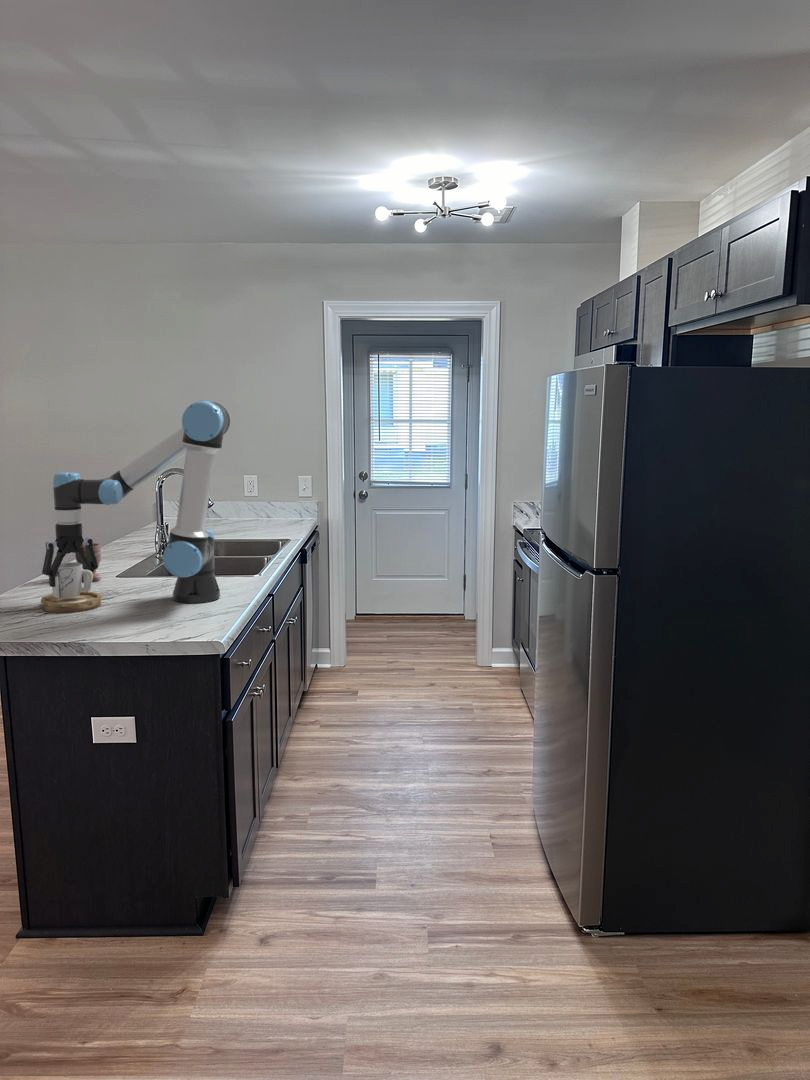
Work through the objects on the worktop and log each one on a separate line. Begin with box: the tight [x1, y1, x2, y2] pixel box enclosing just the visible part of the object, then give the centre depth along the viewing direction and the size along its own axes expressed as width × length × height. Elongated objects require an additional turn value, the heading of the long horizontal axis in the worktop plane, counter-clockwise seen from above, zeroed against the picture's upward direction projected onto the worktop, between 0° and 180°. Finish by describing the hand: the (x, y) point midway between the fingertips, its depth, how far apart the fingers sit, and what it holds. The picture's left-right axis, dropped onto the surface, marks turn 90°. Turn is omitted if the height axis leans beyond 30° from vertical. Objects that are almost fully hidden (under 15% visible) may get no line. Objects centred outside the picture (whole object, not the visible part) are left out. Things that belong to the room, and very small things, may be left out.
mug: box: [56, 562, 93, 599], centre depth 237 cm, size 11×8×10 cm
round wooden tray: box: [40, 591, 102, 614], centre depth 238 cm, size 17×17×3 cm
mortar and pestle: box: [74, 542, 102, 583], centre depth 272 cm, size 12×9×20 cm
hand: (71, 594), depth 238 cm, fingers closed on mug, 9 cm apart
